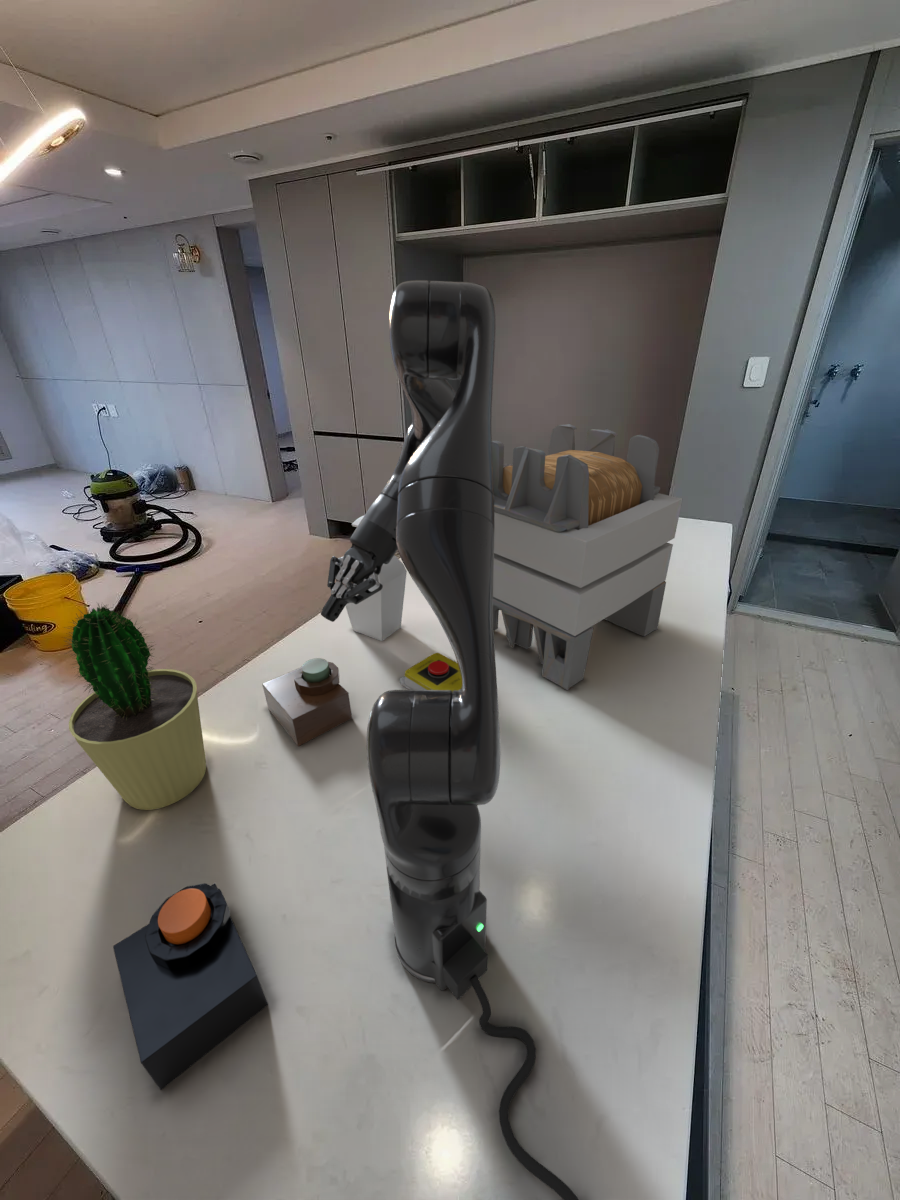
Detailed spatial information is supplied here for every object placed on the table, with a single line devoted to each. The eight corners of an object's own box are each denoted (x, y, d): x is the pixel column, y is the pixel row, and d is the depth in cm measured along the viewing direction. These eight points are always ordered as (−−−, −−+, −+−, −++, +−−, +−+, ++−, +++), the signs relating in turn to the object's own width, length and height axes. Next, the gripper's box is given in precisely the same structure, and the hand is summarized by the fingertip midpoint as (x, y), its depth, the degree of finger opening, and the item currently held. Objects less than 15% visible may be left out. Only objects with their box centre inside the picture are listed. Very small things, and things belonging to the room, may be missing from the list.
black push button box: (269, 1003, 51) (254, 964, 47) (160, 1090, 45) (134, 1053, 42) (227, 910, 59) (211, 870, 56) (130, 974, 54) (106, 934, 50)
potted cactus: (228, 793, 74) (170, 616, 59) (106, 841, 67) (6, 656, 53) (213, 729, 86) (161, 568, 71) (108, 765, 79) (27, 596, 65)
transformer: (445, 622, 115) (441, 437, 95) (539, 578, 133) (551, 415, 114) (568, 693, 92) (595, 470, 73) (660, 628, 111) (701, 436, 91)
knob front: (217, 923, 51) (212, 912, 50) (170, 955, 49) (164, 943, 48) (203, 891, 54) (198, 879, 53) (158, 919, 52) (152, 907, 51)
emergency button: (431, 642, 100) (490, 674, 90) (432, 661, 102) (490, 693, 93) (395, 663, 94) (455, 699, 85) (397, 682, 96) (455, 719, 87)
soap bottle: (415, 624, 114) (408, 514, 102) (386, 645, 107) (375, 530, 94) (373, 610, 120) (362, 504, 108) (343, 629, 113) (327, 518, 100)
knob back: (334, 676, 86) (333, 666, 85) (310, 686, 84) (309, 676, 83) (322, 664, 89) (320, 654, 88) (299, 674, 87) (297, 664, 86)
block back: (358, 715, 88) (353, 681, 85) (298, 746, 82) (290, 710, 78) (324, 683, 96) (319, 650, 93) (268, 709, 90) (259, 675, 86)
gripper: (346, 507, 85) (290, 595, 84) (393, 528, 77) (331, 626, 76) (375, 529, 91) (322, 612, 90) (421, 551, 82) (364, 642, 81)
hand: (326, 618), depth 83 cm, fingers closed
